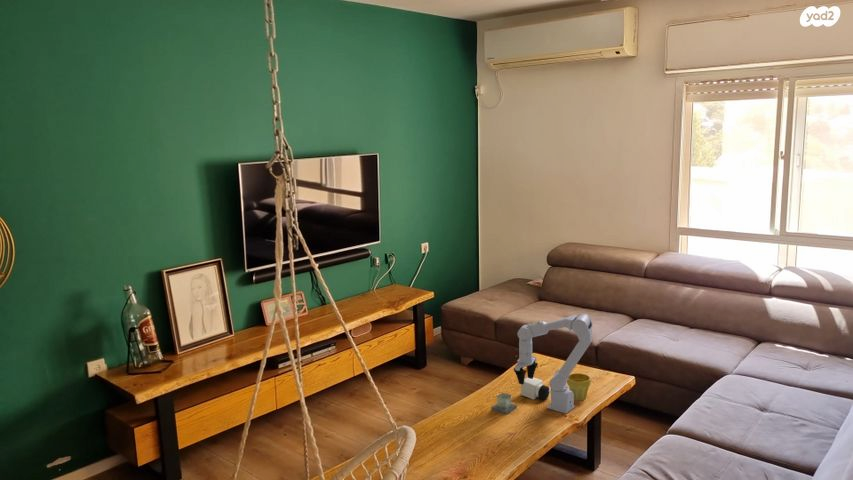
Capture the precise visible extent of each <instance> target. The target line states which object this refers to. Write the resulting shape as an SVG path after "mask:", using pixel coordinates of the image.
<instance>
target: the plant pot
mask: <svg viewBox="0 0 853 480" xmlns="http://www.w3.org/2000/svg"><path fill="white" fill-rule="evenodd" d="M591 380H592V379H591V376H590V375H589V374H586V373H581V372H575V373H574V372H573V373H570V375H569V378H568V381H567V382H566V384H567V387H568V389H569V390H570V391H572V392H573V393H574V401H580V402H581V401H584V400H586V399H587V395H588V391H589V387H591Z"/></svg>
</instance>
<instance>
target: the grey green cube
mask: <svg viewBox="0 0 853 480" xmlns="http://www.w3.org/2000/svg"><path fill="white" fill-rule="evenodd" d="M496 399H497V400H496V401H497V403H496V404H497V407H499V408H503V409H507V408H509V407H510V406H511V404H512V394H509V393H506V392H505V393H504V392H501V393H500V394H498V395H497V396H496Z"/></svg>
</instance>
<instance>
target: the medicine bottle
mask: <svg viewBox="0 0 853 480" xmlns="http://www.w3.org/2000/svg"><path fill="white" fill-rule="evenodd" d="M543 382H544V381H543V380H542V379H540V378H536V377H534V376H533V379H530V378H528V376H527V377H526V378H524V384H523V385H522V384H520V385H521V386H520V388H521V389H520V395H521V396H523V397H526V398H528V399H531V400H536V399H537V398H539V399H542V400H544V401H545V400H547V399H548V398H550V397H549V396H551V387H550V386H547V385H545V384H544V383H543Z"/></svg>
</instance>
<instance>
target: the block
mask: <svg viewBox="0 0 853 480" xmlns="http://www.w3.org/2000/svg"><path fill="white" fill-rule="evenodd" d="M490 408H491V411H493V412H496V413H499V414H502V415H506V416H507V415H509V414H510V413H511V412H514V411H515V410H517V408H518V405H517V404H513V403H511V406H510V407H509V408H507V409H503V408H499V407H497V403H496V404H494V405H493V406H492V405H491V407H490Z"/></svg>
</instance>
